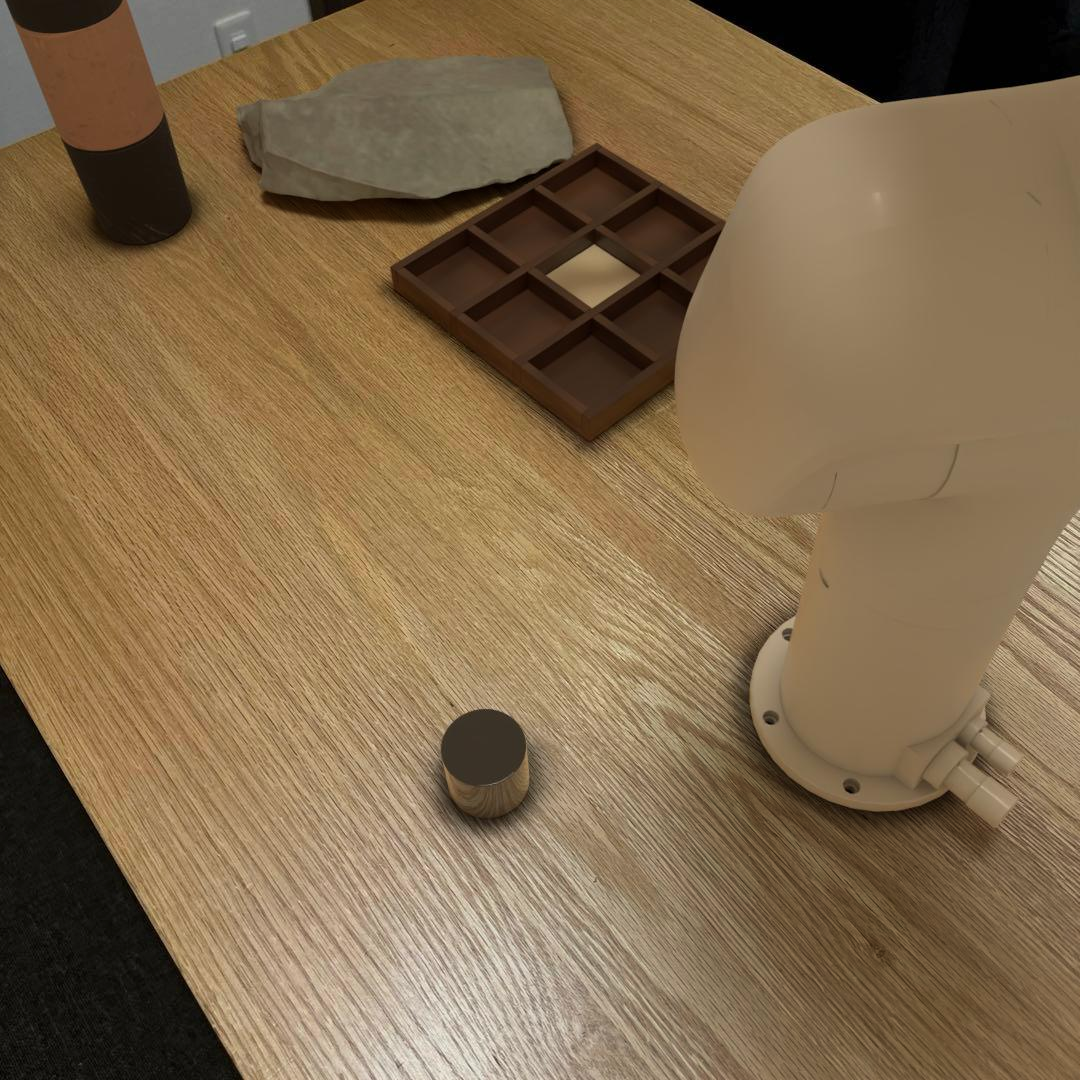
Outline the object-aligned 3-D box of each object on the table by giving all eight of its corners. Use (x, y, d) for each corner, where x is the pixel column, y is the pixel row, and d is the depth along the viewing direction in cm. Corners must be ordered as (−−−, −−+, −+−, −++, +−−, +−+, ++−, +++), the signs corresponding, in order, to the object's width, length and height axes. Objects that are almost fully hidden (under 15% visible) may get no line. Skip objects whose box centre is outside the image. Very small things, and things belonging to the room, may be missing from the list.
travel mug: (93, 197, 96) (-8, -50, 80) (189, 176, 97) (108, -71, 81) (102, 256, 91) (-3, 7, 75) (201, 234, 92) (119, -16, 76)
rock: (234, 177, 86) (226, 35, 98) (248, 248, 90) (238, 105, 103) (595, 148, 90) (544, 16, 102) (590, 218, 94) (541, 83, 107)
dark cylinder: (546, 781, 64) (544, 747, 61) (484, 834, 62) (478, 803, 59) (492, 728, 66) (487, 693, 63) (431, 778, 64) (423, 745, 61)
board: (796, 290, 86) (800, 267, 84) (589, 442, 78) (589, 419, 77) (596, 165, 96) (596, 142, 94) (393, 289, 88) (389, 266, 86)
